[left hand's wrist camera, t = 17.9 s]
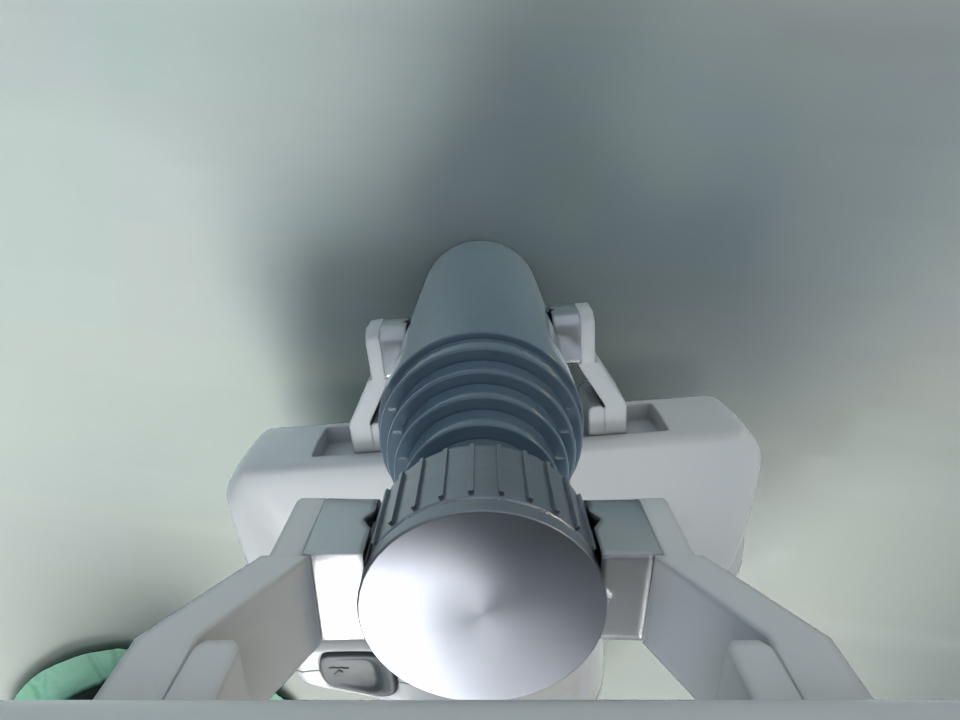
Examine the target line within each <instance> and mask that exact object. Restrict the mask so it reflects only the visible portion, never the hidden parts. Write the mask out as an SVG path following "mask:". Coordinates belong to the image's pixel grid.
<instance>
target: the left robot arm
mask: <svg viewBox="0 0 960 720" xmlns="http://www.w3.org/2000/svg"><path fill="white" fill-rule="evenodd" d="M583 502H584V506H585V509H586V513H587V517H588V520H589V524H590V527H591V529H593V531H594V534H593V538H594V541H595V545H596V549H595V552H596V555H597V559H598V563H599V566H600V571H601V573H602V576H603V580H604V584H605V588H606V594H607V616H606V622H605V626H604V629H603V632H602V634H601V637H600V639H615V640H643V644H644V645H645V646H646V647H647V648H648V649H649V650H650V651H651V652H652V653H653V654H654V655H655V656H656V657H657V659H658V660H659V661H660V662H661V663H662V664H663V665H664V666H665V667H666V668H667V669H668V670H669V671H670V672H671V674H672V675H673V676H674V677H675V678H676V679H677V680H678V681H679V682H680V683H681V684H682V685H683V686H684V688H685V689H686V690H687V691H688V692H689V693H690V694H691V695H692V696H693V697H694V698H695V699H696V700H269V699H270V698H271V697H272V696H273V695H274V694H275V693H276V692H277V691H278V690H279V689H280V687H281V686H282V685H283V684H284V683H285V682H286V681H287V680H288V679H289V678H290V677H291V676H292V675H293V673H294V672H295V671H296V670H297V669H298V668H299V667H300V666H301V665H302V664H303V663H304V662H305V661H306V659H307V658H308V657H309V656H310V655H311V654H312V653H313V652H314V651H315V650H316V649H317V648H318V647H319V645H320V644H321V643H322V642H321V640H348V639H364V637H363V634H362V631H361V629H360V625H359V621H358V616H357V596H358V589H359V585H360V581H361V577H362V574H363V571H364V568H365V559H366V555H367V552H368V548H369V545H370V541H371V526H372V523H373V522H375V521H376V519H377V515H378V511H379V509H380V507H381V504H382V503H381V501H380V499H341V498H328V499H326V498H301V499H300V500H298V501H297V502H296V504H295V506H294V508H293V510H292V512H291V514H290V516H289V518H288V520H287V522H286V524H285V526H284V528H283V530H282V532H281V534H280V535H279V537H278V539H277V541H276V543H275V545H274V547H273V549H272V551H271V553H270V555H268V556H260V557H258V558H257V559H255V560H254V561H252V562H251V563H249V564H248V565H246V566H245V567H243V568H242V569H240V570H239V571H237V572H235V573H234V574H232V575H231V576H229V577H228V578H226V579H225V580H223V581H222V582H220V583H219V584H217V585H216V586H214V587H212V588H211V589H209V590H208V591H206V592H205V593H203V594H202V595H200V596H199V597H197V598H196V599H194V600H192V601H191V602H189V603H188V604H186V605H185V606H183V607H182V608H180V609H179V610H177V611H176V612H174V613H173V614H171V615H169V616H168V617H166V618H165V619H163V620H162V621H160V622H159V623H157V624H156V625H154V626H153V627H151V628H150V629H148V630H146V631H145V632H143V633H142V634H140V635H139V636H137V637H136V638H135V639H134V641H133V642H132V643H131V645H130V646H129V648H128V649H127V651H126V652H125V654H124V655H123V657H122V658H121V659H120V661H119V662H118V664H117V665H116V667H115V668H114V670H113V671H112V672H111V674H110V675H109V677H108V678H107V680H106V681H105V683H104V684H103V685H102V687H101V688H100V690H99V691H98V693H97V694H96V696H95V697H94V698H93V700H0V720H960V700H874V699H873V698H872V696H871V695H870V693H869V692H868V691H867V689H866V688H865V686H864V685H863V683H862V682H861V681H860V679H859V678H858V676H857V675H856V673H855V672H854V671H853V669H852V668H851V666H850V665H849V663H848V662H847V660H846V659H845V658H844V656H843V655H842V653H841V652H840V650H839V649H838V648H837V646H836V645H835V643H834V642H833V640H832V639H831V638H830V637H828V636H827V635H825V634H823V633H822V632H820V631H819V630H817V629H816V628H814V627H813V626H811V625H810V624H808V623H806V622H805V621H803V620H802V619H800V618H799V617H797V616H796V615H794V614H793V613H791V612H790V611H788V610H786V609H785V608H783V607H782V606H780V605H779V604H777V603H776V602H774V601H773V600H771V599H769V598H768V597H766V596H765V595H763V594H762V593H760V592H759V591H757V590H756V589H754V588H753V587H751V586H749V585H748V584H746V583H745V582H743V581H742V580H740V579H739V578H737V577H736V576H734V575H733V574H731V573H729V572H728V571H726V570H725V569H723V568H722V567H720V566H719V565H717V564H716V563H714V562H712V561H711V560H709V559H708V558H706V557H705V556H697V555H695V554H694V552H693V550H692V548H691V546H690V544H689V542H688V541H687V539H686V537H685V535H684V533H683V531H682V529H681V527H680V525H679V523H678V521H677V520H676V518H675V516H674V514H673V512H672V510H671V508H670V506H669V504H668V502H667V501H666V500H665V499H664V498H640V499H622V500H583Z"/></svg>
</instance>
